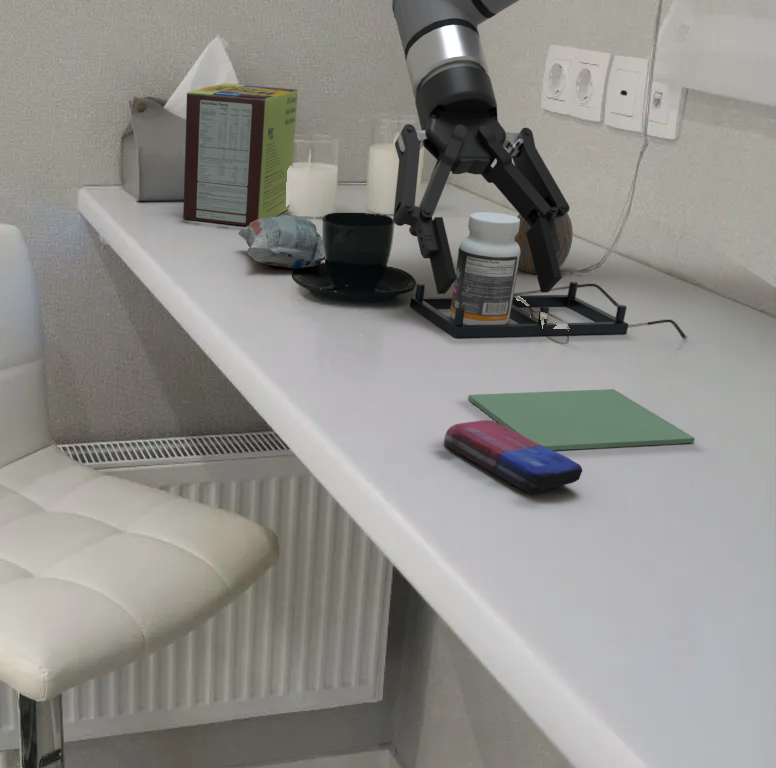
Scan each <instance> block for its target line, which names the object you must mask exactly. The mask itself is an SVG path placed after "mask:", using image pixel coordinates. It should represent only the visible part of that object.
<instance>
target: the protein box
mask: <svg viewBox="0 0 776 768" xmlns="http://www.w3.org/2000/svg"><path fill="white" fill-rule="evenodd" d="M185 107H186V110H185V111H186V112H185V118H186V119H185V141H184V142H185V143H184V144H185V146H184V173H183V175H184V176H183V210H182V211H183V213H182V219H184V220H191V221H199V222H209V223H218V224H226V225H236V226H243V227H247V226H249V225H250V223H251V222H254V221H255V220H259V219H262V218H269V217H278V216H279V215H281V214H282V213H284V212H286V211H288V210H289V209H290V204H289V205H288V206H287V207H286V182H287V170H288V168H289V166H291V165H292V166H293V162H294V152H295V151H294V150H295V137H296V121H297V108H298V89H297V88H296V89H295V88H285V87H284V88H283V87H272V86H271V87H270V86H258V85H248V84H237V83H227V82H226V83H220V84H216V85H212V86H207V87H206V86H205V87H203V88H198V89H194V90H190V91H188V92H186V106H185ZM293 140H294V141H293ZM293 142H294V143H293Z"/></svg>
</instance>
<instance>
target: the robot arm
mask: <svg viewBox="0 0 776 768" xmlns="http://www.w3.org/2000/svg"><path fill="white" fill-rule="evenodd" d="M519 1H520V0H391V11H392V12H393V18H394V20H395V22H396V25H397V31H398V34H399V38H400V42H401V45H402V49H403V55H404V58H405V59H404V60H405V64H406V69H407V72H408V76H409V80H410V84H411V85H410V86H411V90H412V94H413V96H414V99H415V101H414V102H415V109H416V112H417V117H418V121H419V125H420V129H416V127H415V126H414V125H413V124H410V123H406V124H404V126H403V128H402V129H401V131H400V133H399V134H398V136H397V138H396V141H395V142H394V147H395V149H396V150H395V151H396V154H397V158H398V169H397V176H396V179H397V180H396V188H395V195H394V196H395V197H394V208H393V218H392V220H393V223H394V224H395V225H396V226H399V227H402V226H404V225H406V226H409V228H408V231H409V233H410V235H411V236H413V237H416V238H417V243H418V246H419V247H418V248H419V252H420V255H421V256H422V258H423V259H424V260H426V259H429V261H430V265H431V266H430V267H431V271H432V276H433V279H434V283H435V288H436V292H437V295H445V294H447V292H448V291H449V290H450V288H451V287H453V285H454V282H455V280H456V279H457V278H456V269H455V265H454V260H453V257H452V253H451V247H450V243H449V240H448V235H447V231H446V226H445V223H444V217H443V216H435V217H433V216H434V214H435V212H436V209H437V207H438V204H439V201H440V199H441V196H442V194H443V191H444V188H445V186H446V184H447V181H448V179H449V176H450V175H451V174H452V175H462V174H466V173H467V174H472V175H480V176H482V178H483V179H484V180H485V181H486V182H487V183H489V184H493V185H494V186H495V187H496V188H497V189H498V190H499V191H500V193H501V194H502V195H503V196H504V197H505V199H506V200H507V201H508V202H509V203H510V204H511V206H512V207H513V208H514V209H515V210H516V212H518V215H519V214H520V215H521V216H522V217H523V218H524V219H525V221H526V222H527V223H528V224H529V225H530V226H531V228H530V230H529V231H528V232H527V233H526V235H527V239H528V243H529V247H530V251H531V255H532V258H533V262H534V266H535V270H536V273H535V274H536V278H537V283H538V285H539V290H540V293H543V294H545V293H547V294H548V293H550V291H551V290H552V289H553V288H554V287H555V286H556V285H557V283H558V282H559V281H560V280H561V279H562V278H563V276H562V273H561V269H560V268H561V267H559V265H558V261H557V257H556V253H557V252H558V251H559V248H560V244H559V241H558V237H557V233H556V229H555V226H556V225H557V224H558V223H559V222H560V221H561V220H562V218H563V217H564V216H565V215H566V214H567V213H569V212H570V207H571V206H570V205H569V203H568V201H567V200H566V198H565V196H564V193H563V192H562V191H561V189H560V187H559V186H558V184H557V182H556V181H555V179H554V177H553V175H552V173H551V172H550V170H549V168H548V167H547V164H546V163H545V162H544V160H543V157H542V156H541V154H540V153H539V151H538V149H537V148H536V143H535V138H534V134H533V131H532V130H531V128H529V127H523V128H521V130H520V131H519V133H518V132H508V131H507V132H506V130H505V129H504V127H503V126H502V125H501V123H500V122H499V119H498V104H497V103H498V102H497V99H496V95H495V91H494V87H493V83H492V80H491V77H490V74H489V66H488V63H487V59H486V56H485V53H484V52H485V51H484V49H483V45H482V42H481V36H480V33H479V30H478V29H479V28H478V26H479V25H481V24H482V23H484V22H486V21H487V20H489V19H491V18H493V17H495V16H497V15H498V14H499V13H500V12H503V10H506V9H507V8H509V7H510V6H512V5H514V4H515V3H518V2H519ZM423 147H424V148H425V150H426V151H427V152H428V153H429V154H431V155H432V157H434V159H435V160H436V162H435V164H434V167H433V170H432V172H431V175H430V178H429V181H428V184H427V186H426V189H425V191H424V194H423V196H422V199H421V201H420V203H419V205H418V206H416V196H417V184H418V175H419V164H420V153H421V149H423ZM495 161H496V163H495V164H494V162H495ZM493 164H494V166H492V165H493ZM450 173H451V174H450ZM538 213H539V215H538Z"/></svg>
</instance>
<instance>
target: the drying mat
mask: <svg viewBox="0 0 776 768" xmlns="http://www.w3.org/2000/svg"><path fill="white" fill-rule="evenodd" d="M467 396H468V397H467V400H468V401H470V402H471V403H472V404H473V405H475V406H476V407H478V409H480V410H481V411H482V412H483V413H485V414H486V415H487V416H488V417H490V418H492V419H493V421H495V422H497V423H499V424H501V425H503V426H505V427H507V428H509V429H511V430H513V431H515V432H516V433H518V434H520V435H522V436H524V437H526V438H528V439H530V440H532V441H534V442H536V443H538V444H540V445H542V446H544V447H547V448H549V449H551V450H553V451H570V450H588V449H606V448H623V447H625V448H626V447H642V446H643V447H645V446H657V445H658V446H661V445H663V446H664V445H678V444H680V445H682V444H694V443H695V439H696V438H695V437H694V436H692V435H691V434H689V433H687V432H685V431H684V430H682V429H680V428H679V427H677V426H675V425H674V424H672V423H670V422H669V421H667V420H665V419H664V418H662V417H660V415H658V414H656V413H654V412H652V411H651V410H649V409H647V408H646V407H644V406H642V405H641V404H639V403H638V402H636V401H634V400H633V399H631V398H629V397H627V396H626V395H624V394H622V393H621V392H619V391H618V390H616V389H614V388H608V389H607V388H605V389H585V390H583V389H582V390H581V389H579V390H557V391H555V390H554V391H533V392H532V391H530V392H528V391H527V392H512V393H511V392H508V393H507V392H506V393H482V394H481V393H479V394H468V395H467Z"/></svg>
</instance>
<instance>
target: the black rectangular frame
mask: <svg viewBox="0 0 776 768" xmlns="http://www.w3.org/2000/svg"><path fill="white" fill-rule="evenodd" d="M578 285H579V283H578V282H577V281H570V282H569V285H568V291H567V294H537V295H536V294H530V295H527V294H525V295H519V296H520V297H521V298H523V299H524V300H526V302H527V303H528V304H529V305H530V306H531V307H530V308H533V307H534V308H539V312H540V311H541V312H545V313H548V314H549V311H550V307H567V308H569V309H571V310H573V311H575V312H577V313H579V314H581V315H583V316H585V317H586V318H589V319H591V320H592V321H589V322H566V323H567V324H568V326H569V328H570V329H568V330H569V331H568V330H567V329H553V328H554V327H555V326H557V325H556V324H553V323H554V322H550V323H549V322H548V318H547V319H544V323H545V324H544V325H543V329H542V325H541V320H540V315H539V314H538V317H536V316H534V315H532V318H530V313H529V312H527V311H525V310H523V309H521V308H528V307H527V306H526V305H525V304H524V303H522V302H521V301H517V300H516V298H515V297H513V301H512V307H511V312H510V317H509V319H512V320H514V321H516V322H517V323H506V324H497V325H465V324H463V318H464V311H465V309H463V308H456V312H455V319H453V318H452V317H449V316H448V315H446V314H445V313H443V312H441V311H440V310H439V309H451V303H452V296H425V289H426V284H425V283H416V288H415V295H414V296H411V297H410V303H409V308H411V309H412V310H414V311H416V312H417V313H418V314H420V315H422V317H424V318H426V319H427V320H429V321H430V322H432V323H433V324H435V325H436V326H438V327H439V328H441V329H442V330H444V331H445V332H446V333H448V334H450V335H451V336H452V337H454V338H455V339H466V338H467V339H468V338H469V339H470V338H471V339H472V338H505V337H506V338H508V337H546V336H547V337H548V336H550V337H551V336H585V335H587V336H588V335H589V336H590V335H618V334H619V335H625V334H627V333H628V328H629V323H627V322H626V321H625V317H626V312H627V306H626V305H624V304H619V305H617V310H616V312H615V313H616V314H615V316H614V315H613V314H610V313H609V312H606V311H604V310H602V309H600V308H598V307H596V306H594V305H593V304H590V303H589V302H586V301H585V300H582V299H581V298H579V297H577V291H578V287H579V286H578ZM593 321H594V322H593ZM547 322H548V323H547Z"/></svg>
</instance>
